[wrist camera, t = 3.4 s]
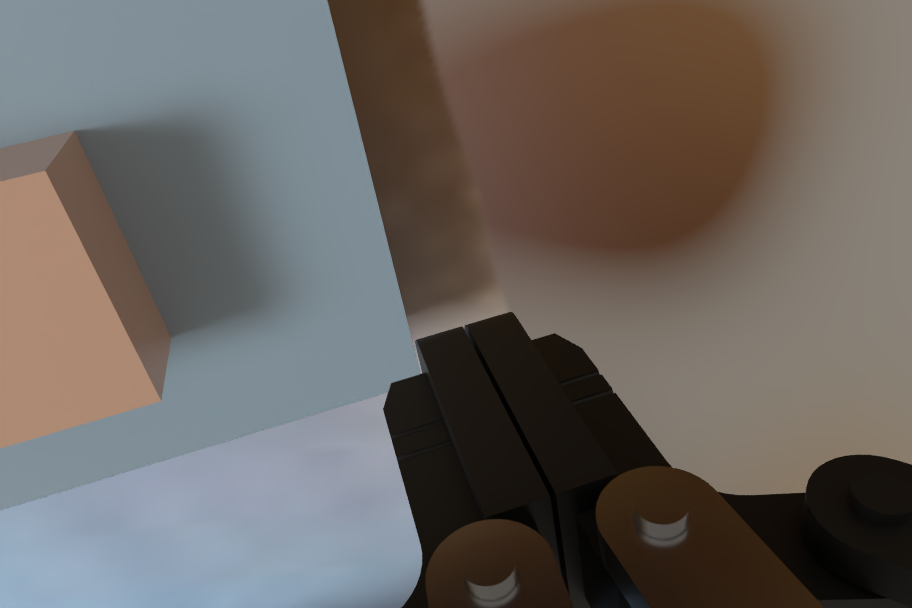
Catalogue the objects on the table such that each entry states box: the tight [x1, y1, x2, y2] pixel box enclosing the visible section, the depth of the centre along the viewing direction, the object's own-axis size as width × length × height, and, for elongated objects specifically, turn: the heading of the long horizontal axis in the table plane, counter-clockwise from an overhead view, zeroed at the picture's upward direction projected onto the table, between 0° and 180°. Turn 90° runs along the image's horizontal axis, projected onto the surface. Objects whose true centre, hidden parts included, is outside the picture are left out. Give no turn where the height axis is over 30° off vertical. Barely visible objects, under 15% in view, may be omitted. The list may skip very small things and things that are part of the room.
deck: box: [0, 0, 420, 510], centre depth 19 cm, size 20×14×4 cm
